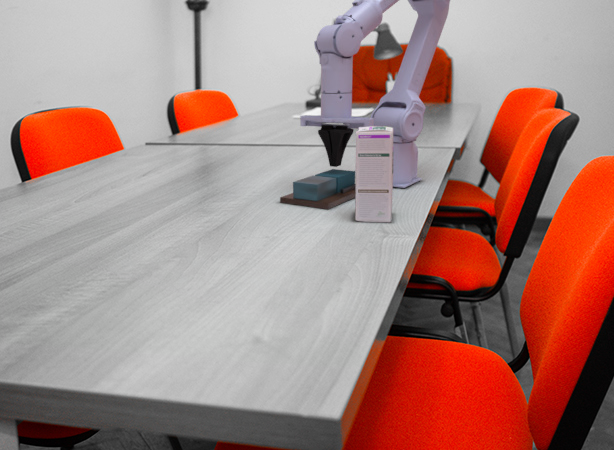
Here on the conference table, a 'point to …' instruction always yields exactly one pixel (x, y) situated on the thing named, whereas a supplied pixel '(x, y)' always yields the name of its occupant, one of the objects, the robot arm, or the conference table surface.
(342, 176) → the loose pad
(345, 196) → the assembly board
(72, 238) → the conference table surface
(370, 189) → the syrup box
